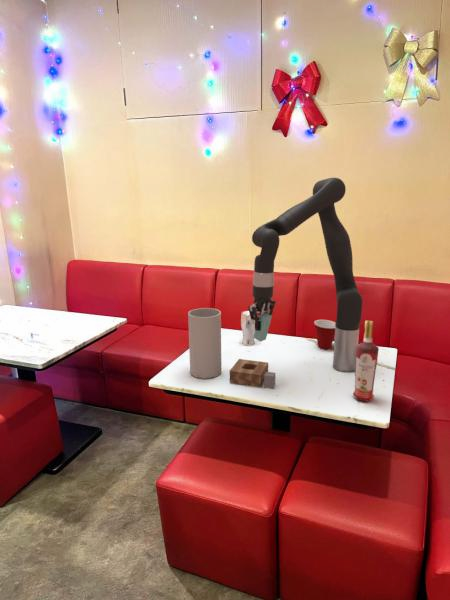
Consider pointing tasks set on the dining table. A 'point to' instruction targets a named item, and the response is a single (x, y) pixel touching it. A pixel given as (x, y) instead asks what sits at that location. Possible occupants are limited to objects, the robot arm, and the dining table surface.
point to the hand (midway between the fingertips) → (260, 328)
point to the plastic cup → (325, 333)
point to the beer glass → (247, 328)
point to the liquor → (365, 365)
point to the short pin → (269, 380)
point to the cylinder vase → (205, 342)
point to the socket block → (248, 372)
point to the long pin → (263, 327)
